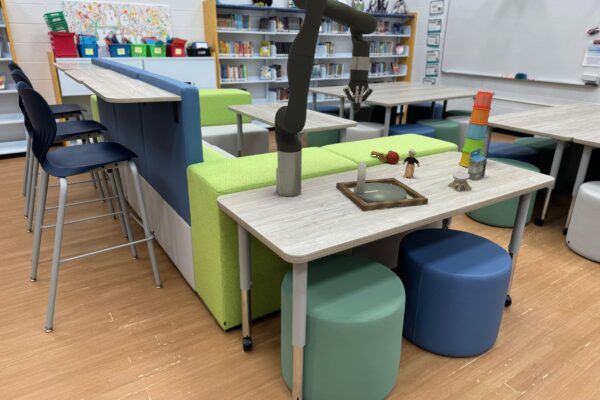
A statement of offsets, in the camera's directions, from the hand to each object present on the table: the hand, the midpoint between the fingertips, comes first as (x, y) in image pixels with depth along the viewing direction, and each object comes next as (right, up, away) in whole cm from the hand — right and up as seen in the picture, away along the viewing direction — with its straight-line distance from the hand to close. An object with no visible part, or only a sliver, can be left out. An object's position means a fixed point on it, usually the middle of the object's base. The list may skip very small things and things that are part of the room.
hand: (356, 111), depth 179 cm
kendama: (+18, -18, +34) cm, 42 cm away
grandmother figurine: (+24, -27, +8) cm, 38 cm away
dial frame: (+7, -35, -13) cm, 38 cm away
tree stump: (+42, -32, -4) cm, 53 cm away
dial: (+7, -35, -13) cm, 38 cm away
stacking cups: (+58, -21, +27) cm, 67 cm away
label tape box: (+54, -27, +9) cm, 61 cm away
